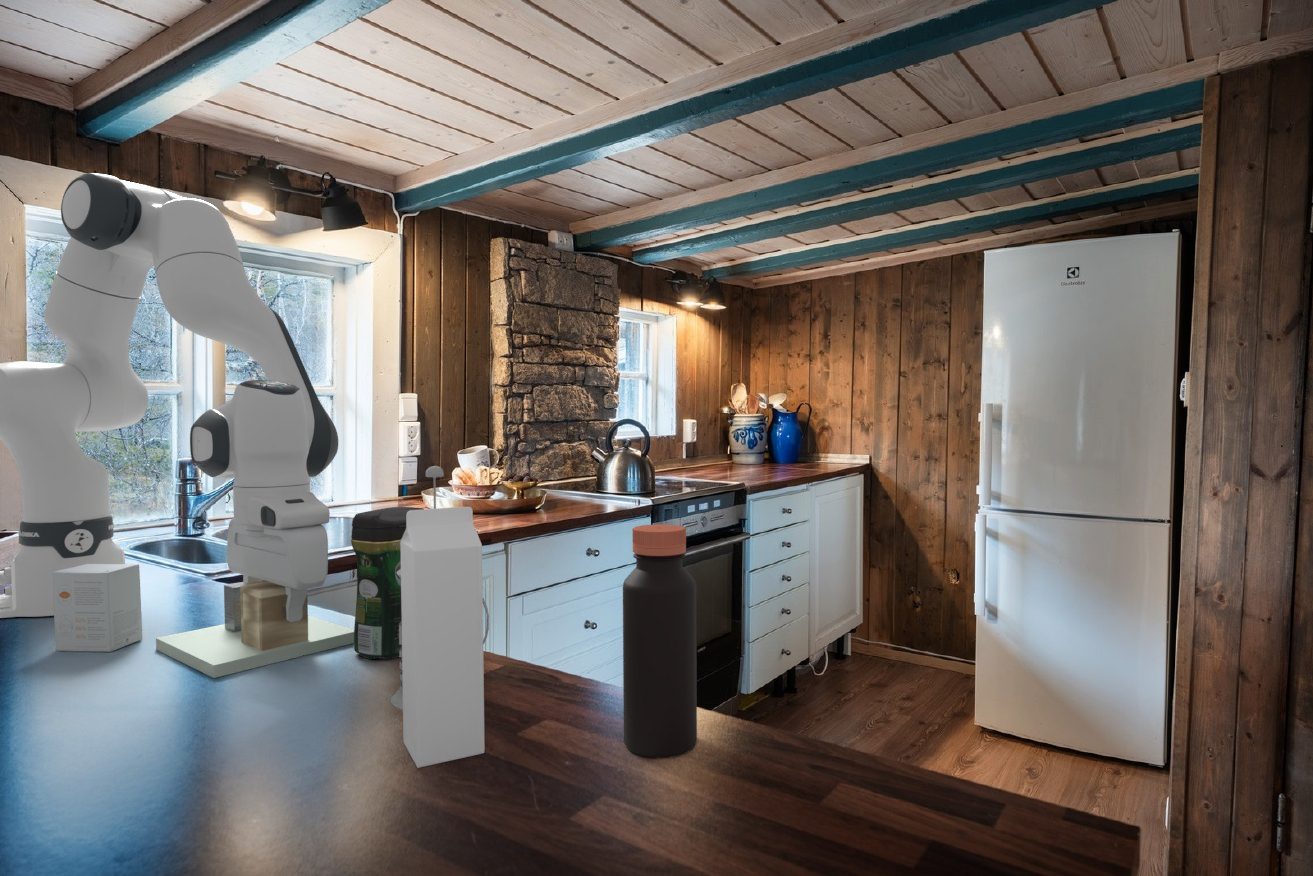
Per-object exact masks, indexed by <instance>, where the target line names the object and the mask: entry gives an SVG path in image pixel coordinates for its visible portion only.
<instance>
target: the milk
mask: <svg viewBox="0 0 1313 876" xmlns="http://www.w3.org/2000/svg"><path fill="white" fill-rule="evenodd" d="M473 511H474V510H473V508H472V507H471V506H460V507H459V506H458V507H457V506H456V507H441V508H436V509H434V508H427V509H425V508H423V510H410V511H408V512H407V514H406V530H405V532H404V535H403V537H402V539H401V542H400V546H401V611H402V657H401V659H402V669H401V670H402V676H403V710H402V727H403V728H402V729H403V733H402V734H403V735H402V736H403V745H404V746H405V748H406V750H407V751H408V753H409V755H410V756H411V759H412V761H413V762H414V764H415V766H416V767H417V769H420V768H424V767H429V766H432V765H438V764H441V763H446V762H450V761H455V760H460V759H464V758H468V757H473V756H478V755H482V754H484V753H485V688H484V687H485V685H484V684H485V683H484V682H485V681H484V680H485V677H484V667H485V666H484V645H483V640H484V605H483V598H484V597H483V595H484V594H483V591H484V590H483V545H482V544H483V543H482V542H481V539H480V537H479V534H478V532H477V529H476V526H475V525H474V517H473V516H474V514H473V513H474V512H473Z"/></svg>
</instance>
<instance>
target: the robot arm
mask: <svg viewBox="0 0 1313 876" xmlns="http://www.w3.org/2000/svg"><path fill="white" fill-rule="evenodd" d="M60 216H61V221H62V225H63V226H64V228H65V230H66V231H67V233H68V234H69V236H70V238H69V240H68V242H67V244H66V246H65V249H64V251H63V253H62V256H61V258H60V261H59V263H58V266H57V270H56V271H55V276H54V279H53V281H52V284H51V285H52V286H51V289H50V292H49V295H48V298H47V301H46V305H45V308H44V311H43V319H44V323H45V324H46V326H47V328H48V330H49V331H50V332H51V333H52V334H53V335H54V336H55V337H56V338H58V339H59V340H61V341H62V342H63V343H65V346H66V350H65V351H66V355H65V358H64V360H63V362H62V363H57V362H43V361H42V362H41V361H25V360H19V361H18V360H17V361H7V362H0V441H1V443H2V444H3V445H4V447H5V448H6V450H7V451H8V452H9V453H10V455H11V457H12V459H13V461H14V463H15V465H16V468H17V471H18V476H19V482H20V491H21V503H22V506H21V507H22V521H20V522H19V529H18V533H17V534H18V544H20V547H19V549H18V551H17V553H16V555H15V556H14V557H13V559H12V560H11V561H10V566H9V567H3V568H4V569H3V570H0V586H5V587H4V588H3V594H0V619H4V618H16V617H19V618H21V617H25V618H26V617H28V618H29V617H34V618H35V617H50V616H51V617H53V616H54V598H53V575H52V573H53V572H55V571H59V570H63V569H68V568H72V567H76V566H80V565H85V564H126V559H125V558H126V557H125V549H124V548H123V547H121V546H120V545H117V544H116V543H115V542H114V541H113V537H114V528H115V526H114V525H115V523H114V520H113V519H114V518H113V516H112V515H111V514H110V489H109V488H110V484H109V482H110V481H109V473H108V470H107V468H106V467H105V465H103V463H101V462H100V461H99V460H98V459H95V458H92V457H90V456H88V455H86V453H85V452H84V451H83V450H82V448H81V446H80V444H79V443H78V441H77V437H76V433H83V432H84V433H85V432H87V433H88V432H89V433H92V432H109V431H112V430H117V429H118V430H119V429H122V428H126V427H130V426H134V425H136V424H138V423H139V422H140V421H141V420H142V419H143V417H144V416H145V415H146V412H147V410H148V406H149V392H148V390H147V386H146V385H145V383H144V381H143V380H142V378H140V377H139V376H138V375H137V373H136V372H135V370H134V369H133V367H132V363H131V359H130V354H129V346H130V345H129V344H130V336H131V332H132V328H133V325H134V320H135V317H136V314H137V311H138V307H139V304H140V300H141V298H142V295H143V291H144V287H145V284H146V279H147V276H148V274H149V271H150V269H151V268H152V267H154V273H155V277H156V282H157V287H158V291H159V294H160V295H159V296H160V299H161V301H162V304H163V306H164V308H165V309H166V311H167V313H168V314H169V316H170V317H171V318H172V319H173V320H174V321H175V322H176V323H178V324H179V325H180V326H182V327H183V328H184V329H187V330H188V331H190V332H192V333H194V334H196V335H199V336H200V337H203V338H206V339H210V340H212V341H214V342H218V343H221V344H223V345H227V346H228V347H231V348H234V349H235V350H238V351H240V352H242V353H244V354H245V355H247V356H249V357H250V358H252V359H253V360H254V361H255V362H256V363H257V364H258V366H259V367H260V368H261V369H262V371H263V373H264V375H265V379H266V380H264V379H251V380H246V381H243V382H240V383H238V384H237V385H236V386H235V389H234V392H233V396H232V398H231V399H230V400H228V401H226V402H225V403H224V404H222V405H220V406H219V407H216V408H214V409H208V410H206V411H205V412H204V413H202V414H201V415H200V416H199V417H198V418H197V419H196V420H195V421H194V423H193V424H191V428H190V433H189V434H190V435H189V449H190V450H189V451H190V459H191V461H192V463H193V464H194V465H195V466H196V467H197V468H198V469H199V470H200V471H201V472H202V473H204V474H206V475H207V476H208V477H210V478H217V479H221V480H229V479H230V480H231V479H233V486H232V490H233V492H232V493H233V494H232V498H233V500H232V501H233V517H232V518H231V519H230V521H229V523H228V529H227V538H226V541H227V542H226V564H227V567H228V570H229V572H233V573H235V574H239V575H242V580H243V581H242V582H243V583H244V585H248V584H254V583H260V582H266V581H267V582H271V583H274V584H278V585H281V586H285V591H286V595H288V598H287V603H286V606H284V607H283V619H284V620H286V621H289V622H294V621H299V620H301V619H302V617H303V615H302V606H303V604H304V601H305V599H306V596H307V595H308V593H309V592H308V590H310V589H314V588H319V587H322V586H324V583H325V581H326V579H327V576H328V569H329V567H328V565H329V539H328V533H327V529H326V527H324V525H326V524H328V523H330V514H331V513H330V508H329V507H328V505H326V504H325V503H323V502H322V501H321V500H320V499H318V498H317V496H315V494H314V493H313V492H312V491H311V478H314V477H317V476H319V474H321V473H322V472H323V471H325V469H327V468H328V466H329V465H330V464H331V463H332V462H333V460H334V459H335V457H336V455H337V453H338V450H339V435H338V431H337V428H336V425H335V424H334V422H333V420H332V418H331V417H330V416H329V414H328V412H327V411H326V409H325V407H323V404H322V403H321V402H320V399H319V398H318V395H317V393H316V391H315V388H314V386H313V383H312V382H311V379H310V377H309V375H308V372H307V370H306V368H305V365H304V363H303V361H302V359H301V356H300V355H299V352H298V349H297V347H296V345H295V343H294V341H293V338H292V336H291V334H290V332H289V330H288V328H287V326H286V324H285V323H284V322H285V321H284V320H283V318H282V317H281V316H280V315H279V313H277V312H276V311H275V310H274V309H272V308H271V307H269V306H268V305H267V304H266V303H265V302H264V300H263V299H262V298H261V297H260V296H259V294H258V293H257V292H256V290H255V288H254V287H253V286H252V284H251V282H250V281H249V277H248V276H247V274H246V273H247V272H246V269H245V266H244V263H243V260H242V259H243V258H242V255H241V251H240V249H239V247H238V243H237V241H236V239H235V236H234V234H233V231H232V228H231V227H230V225H229V222H228V221H227V218H225V215H224V214H223V213H222V212H221V211H220V210H219V209H218V208H217V207H216V206H214V205H213V204H211V203H209V202H207V201H204V200H202V199H197V198H189V197H188V198H187V197H182V196H180V195H177V194H175V193H172V192H169V191H167V190H164V189H161V188H154V187H150V186H147V185H143V184H139V183H136V182H132V181H131V182H130V181H126V180H123V179H120V178H118V177H116V176H113V175H109V174H103V173H94V172H87V173H82V174H81V175H79V176H77V177H76V178H74V179H72V181H71V182H70V183H69V184H68V186H67V187H66V189H65V191H64V193H63V196H62V199H61V205H60ZM6 585H9V586H6Z"/></svg>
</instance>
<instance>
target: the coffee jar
mask: <svg viewBox="0 0 1313 876" xmlns="http://www.w3.org/2000/svg"><path fill="white" fill-rule="evenodd" d="M423 509H424V508H422V507H412V506H392V507H385V508H380V509H373V510H369V511H364V512H359V513H356V514H355V515H354V517H353V518H352V520H351V521H352V523H351V527H352V529H351V535H350V536H351V539H350V542H351V546H352V549H353V551H354V554H355V557H356V565H357V566H356V567H357V581H356V583H357V584H356V601H355V602H356V603H355V616H354V617H355V618H354V629H353V630H354V643H353V651H355V653H357V654H358V655H360V657H362V658H366V659H369V660H374V659H385V660H386V659H387V660H388V659H393V658H400V657H399V650H400V648H401V647H402V645H400V644H399V623H400V622H401V621H402V611H401V579H400V578H399V576H398V575H397V573H396V572H397V571H398V570H400V569H401V546H400V542H401V539H402V537H403V535H404V532H405V530H406V514H407V512H408V511H410V510H423Z"/></svg>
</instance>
